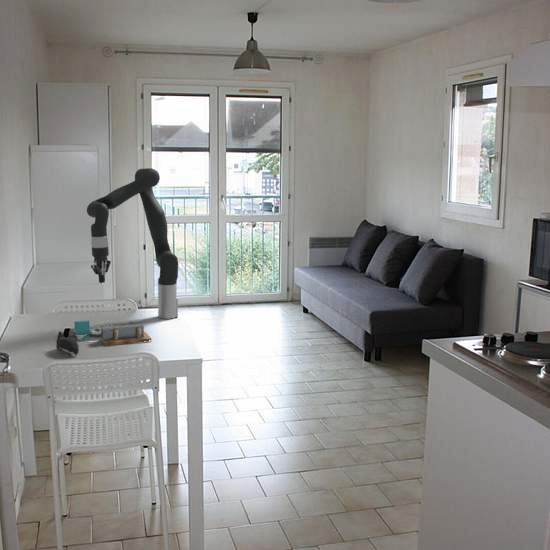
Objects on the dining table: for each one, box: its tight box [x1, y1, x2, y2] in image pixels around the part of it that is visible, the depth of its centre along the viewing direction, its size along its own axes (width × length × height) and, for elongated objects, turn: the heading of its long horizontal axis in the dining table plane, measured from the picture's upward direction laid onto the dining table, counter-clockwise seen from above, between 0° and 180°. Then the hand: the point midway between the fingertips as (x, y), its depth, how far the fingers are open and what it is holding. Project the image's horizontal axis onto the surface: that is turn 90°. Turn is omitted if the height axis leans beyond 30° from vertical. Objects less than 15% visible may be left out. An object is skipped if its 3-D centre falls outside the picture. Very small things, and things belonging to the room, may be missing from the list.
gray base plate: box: [77, 334, 101, 342], centre depth 322 cm, size 15×18×1 cm
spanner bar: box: [100, 323, 145, 342], centre depth 312 cm, size 18×6×5 cm, turn 113°
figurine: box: [55, 331, 80, 357], centre depth 294 cm, size 8×10×15 cm
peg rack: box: [100, 329, 152, 347], centre depth 313 cm, size 20×11×6 cm, turn 113°
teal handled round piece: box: [73, 320, 101, 336], centre depth 320 cm, size 8×14×6 cm, turn 107°
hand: (102, 282), depth 329 cm, fingers closed
